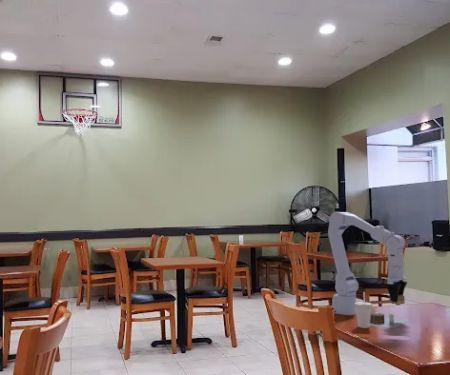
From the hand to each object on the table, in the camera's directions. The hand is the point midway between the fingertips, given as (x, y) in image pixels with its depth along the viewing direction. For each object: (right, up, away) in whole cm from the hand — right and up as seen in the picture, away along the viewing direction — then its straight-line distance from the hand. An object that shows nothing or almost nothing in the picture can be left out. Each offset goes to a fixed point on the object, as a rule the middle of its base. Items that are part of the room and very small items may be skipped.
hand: (396, 300), depth 189 cm
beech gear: (0, -1, 0) cm, 1 cm away
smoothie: (-16, -8, -11) cm, 21 cm away
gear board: (-5, -9, -3) cm, 10 cm away
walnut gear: (-9, -8, -3) cm, 12 cm away
